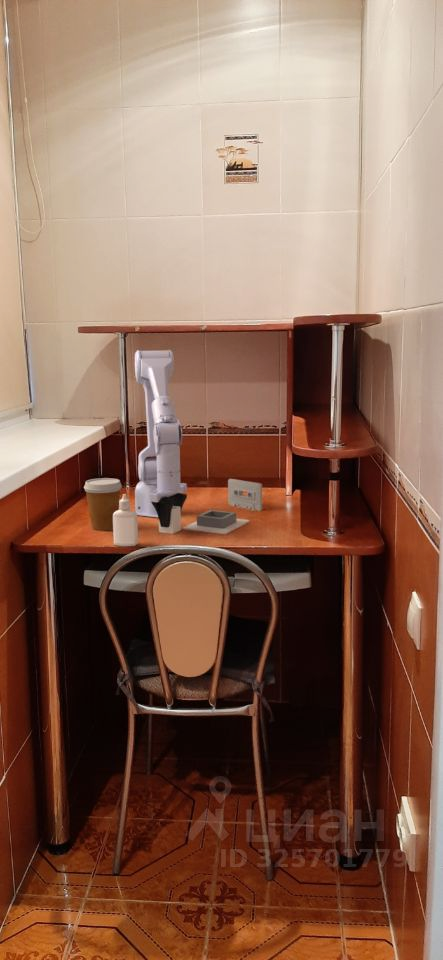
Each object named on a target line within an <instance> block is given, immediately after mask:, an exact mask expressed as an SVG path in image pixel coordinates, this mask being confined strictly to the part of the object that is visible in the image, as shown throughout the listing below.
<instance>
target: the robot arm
mask: <svg viewBox="0 0 443 960" xmlns="http://www.w3.org/2000/svg"><path fill="white" fill-rule="evenodd" d="M134 370H135V379H136V383H138V384H140V385H142V387H143V390H144V394H145V395H144V396H145V399H144V400H145V416H146V417H145V418H146V432H147V433H146V435H147V446H146V447H144V448H143V449H142V450H141V451H140V452H139V454H138V465H137V470H138V471H137V472H138V478H139V482H138V483H137V484H136V486H135V488H134V489H135V490H134V499H135V500H134V503H135V504H134V505H135V506H134V507H135V512H136V513H137V516H142V517H151V518H157V519H158V522H159V521H160V525H161V527H169V526H170V517H171V510H172V506H178V507H180V510H181V511H182V510H183V507H184V504H185V502H186V500H187V498H188V497H187V496H188V494H186V493H185V492H188V485H187V483H184V482H182V483H181V454H180V453H181V451H180V449H181V446H182V444H183V428H182V424H181V422H180V419H179V418H177V417H178V416H177V412H176V407H175V401H174V400H173V398H171V397H170V396H169V382H171V379H172V376H173V372H174V371H175V357H174V352H173V351H172V350H171V349H167V350H140V349H139V350H138V349H137V350H136V351H135V353H134ZM148 457H149V458H148ZM150 457H151V458H150Z"/></svg>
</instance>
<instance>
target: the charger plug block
mask: <svg viewBox="0 0 443 960" xmlns="http://www.w3.org/2000/svg"><path fill="white" fill-rule="evenodd" d="M181 513H182V510H180V507H178V506H172V510H171V517H170V526H169V527H161V525H160V521H159V520H158V532H159V533H163V534H171V535H174V534H175V533H178V532H180V531H182V525H181V524H182V520H181V517H182V516H181Z"/></svg>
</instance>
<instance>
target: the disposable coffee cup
mask: <svg viewBox="0 0 443 960" xmlns="http://www.w3.org/2000/svg"><path fill="white" fill-rule="evenodd" d="M122 487H123V485H122V484H121V480H120V479H118V478H109V477H103V478H91V479H88V480H85V484H84V486H83V489H84V491H85V494H86V499H87V505H88V511H89V517H90V522H91V528H92V529H93V530H95V531H109V530H111V531H113V513H114V512H115V511H117V510H119V509H120V506H119V501H120V495H121V490H122V489H121V488H122Z"/></svg>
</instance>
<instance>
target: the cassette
mask: <svg viewBox="0 0 443 960" xmlns="http://www.w3.org/2000/svg"><path fill="white" fill-rule="evenodd" d="M245 492H246V495H245V494H244V493H245ZM227 497H228V498H227V501H228V503H227V505H228V504H230V505H233V506H232V507H234V506H237V507H236V508H239V507H242V508H241V509H244V508H246V509H245V510H249V509H251V510H250V511H256V510H258V511H257V512H261V510H262V511H263V484H262V483H260V482H254V481H248V480H241V479H236V478H229V479H228V480H227ZM230 505H229V506H230Z"/></svg>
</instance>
